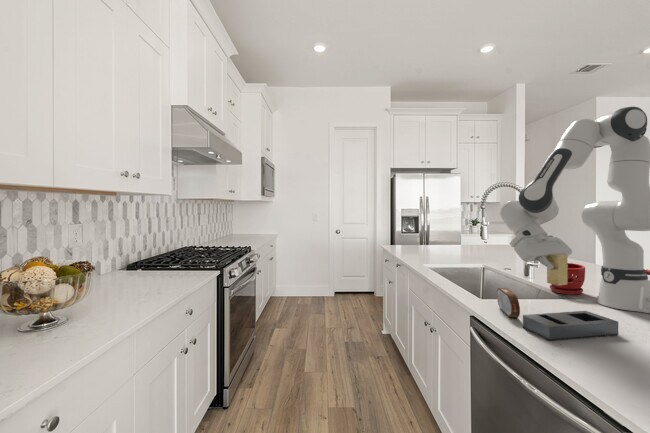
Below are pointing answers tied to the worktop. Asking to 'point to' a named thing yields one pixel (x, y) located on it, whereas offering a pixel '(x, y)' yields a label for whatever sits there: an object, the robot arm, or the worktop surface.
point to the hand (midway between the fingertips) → (559, 268)
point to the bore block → (570, 325)
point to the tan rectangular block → (557, 269)
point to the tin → (508, 302)
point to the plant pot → (572, 280)
